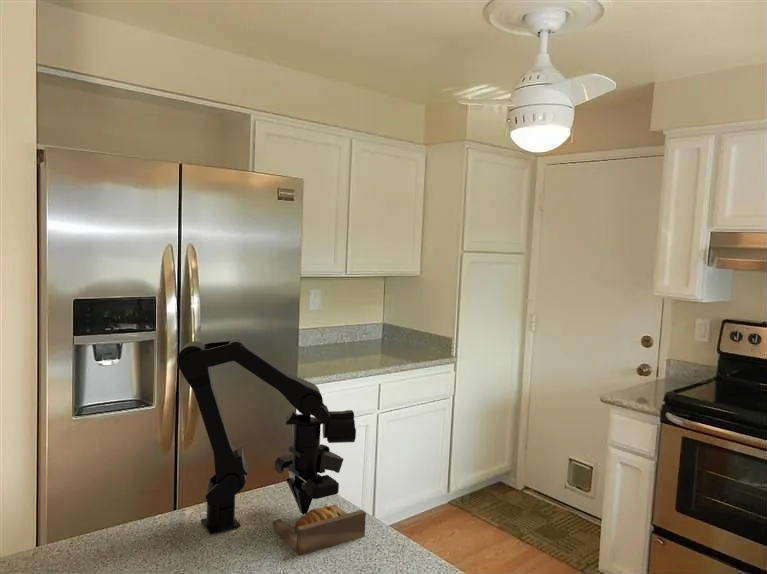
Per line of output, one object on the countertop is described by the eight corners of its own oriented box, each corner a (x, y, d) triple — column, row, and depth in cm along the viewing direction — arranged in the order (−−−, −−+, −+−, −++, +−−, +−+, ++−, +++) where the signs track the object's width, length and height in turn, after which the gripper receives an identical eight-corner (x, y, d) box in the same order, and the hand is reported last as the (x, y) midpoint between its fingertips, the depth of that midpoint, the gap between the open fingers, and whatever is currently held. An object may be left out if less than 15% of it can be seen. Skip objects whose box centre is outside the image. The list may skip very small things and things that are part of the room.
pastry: (305, 541, 118) (306, 522, 118) (287, 528, 123) (287, 511, 123) (342, 528, 125) (342, 510, 124) (323, 516, 130) (324, 499, 129)
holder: (273, 529, 122) (273, 506, 122) (334, 513, 131) (335, 491, 130) (299, 555, 112) (300, 530, 112) (364, 536, 121) (365, 512, 121)
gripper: (361, 450, 123) (358, 522, 124) (318, 425, 138) (315, 490, 139) (315, 459, 116) (312, 535, 117) (274, 432, 131) (272, 500, 132)
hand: (303, 513), depth 127 cm, fingers closed
